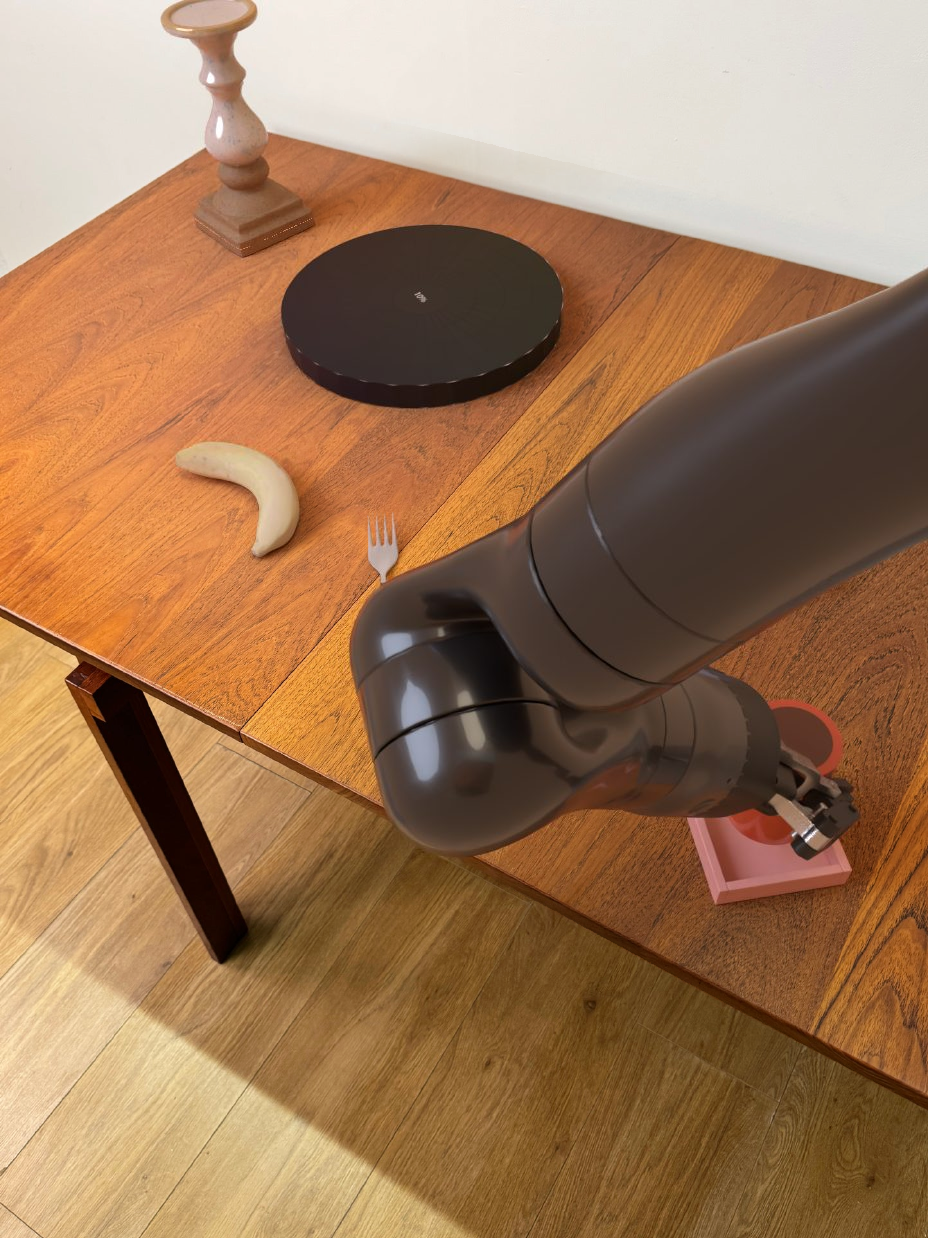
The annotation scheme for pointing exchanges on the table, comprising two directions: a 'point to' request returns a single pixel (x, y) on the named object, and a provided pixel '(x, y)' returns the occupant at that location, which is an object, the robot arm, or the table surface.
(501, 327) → the disc
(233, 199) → the candle holder
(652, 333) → the table surface
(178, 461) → the fruit
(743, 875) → the pink tray
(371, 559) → the fork
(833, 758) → the red spoon pot
